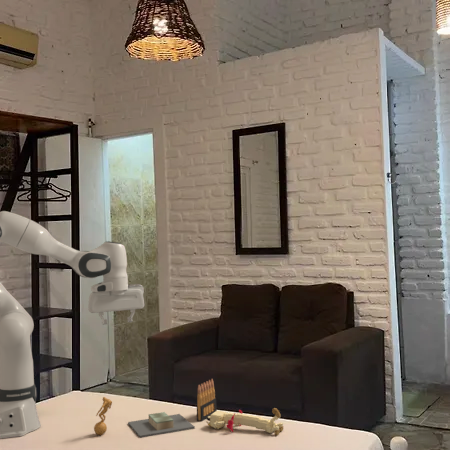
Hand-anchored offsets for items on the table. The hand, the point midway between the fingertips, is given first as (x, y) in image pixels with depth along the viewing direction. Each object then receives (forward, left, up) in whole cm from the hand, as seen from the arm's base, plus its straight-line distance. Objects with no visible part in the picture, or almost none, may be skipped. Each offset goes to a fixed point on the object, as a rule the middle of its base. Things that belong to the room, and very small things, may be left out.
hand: (117, 323), depth 224 cm
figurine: (-12, -27, -31) cm, 43 cm away
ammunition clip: (+24, -26, -31) cm, 47 cm away
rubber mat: (+7, -28, -31) cm, 42 cm away
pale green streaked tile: (+7, -33, -29) cm, 45 cm away
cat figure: (+29, -45, -32) cm, 62 cm away
